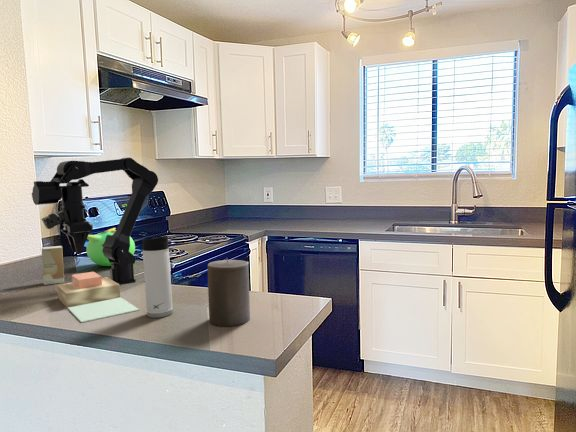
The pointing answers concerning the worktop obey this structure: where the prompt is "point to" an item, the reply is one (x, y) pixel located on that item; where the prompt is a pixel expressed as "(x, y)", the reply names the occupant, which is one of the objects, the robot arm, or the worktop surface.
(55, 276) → the skincare box
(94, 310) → the mat
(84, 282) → the salmon pink block
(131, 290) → the worktop surface
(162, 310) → the travel mug
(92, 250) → the toy bird
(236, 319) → the pillar candle
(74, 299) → the tan block
